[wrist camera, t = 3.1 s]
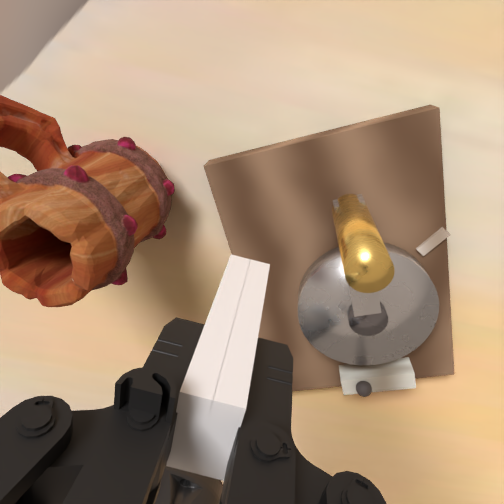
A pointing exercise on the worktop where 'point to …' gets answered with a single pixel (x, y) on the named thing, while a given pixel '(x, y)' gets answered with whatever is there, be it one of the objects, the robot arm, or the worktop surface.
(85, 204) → the mug
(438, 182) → the stand
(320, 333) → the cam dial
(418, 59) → the worktop surface
